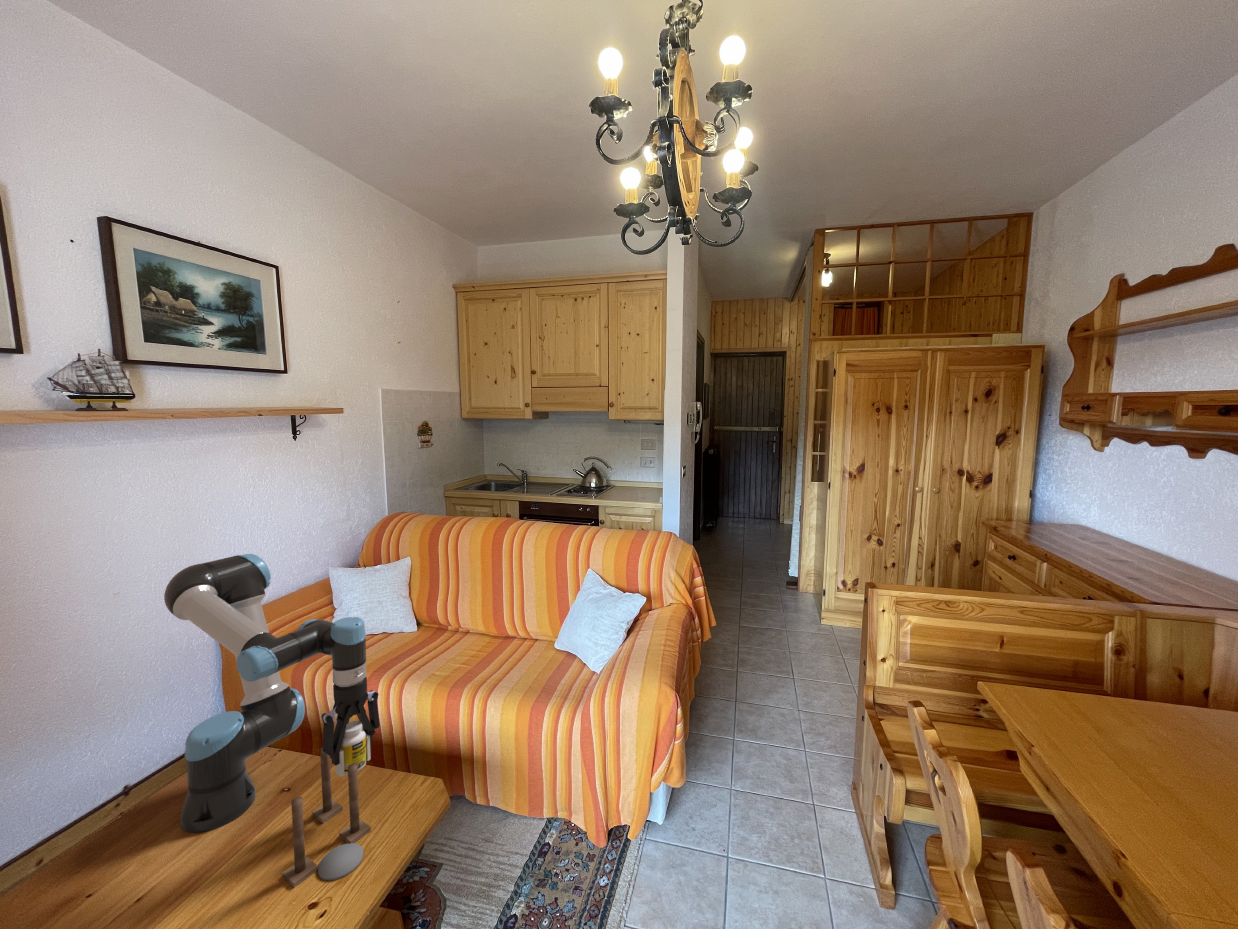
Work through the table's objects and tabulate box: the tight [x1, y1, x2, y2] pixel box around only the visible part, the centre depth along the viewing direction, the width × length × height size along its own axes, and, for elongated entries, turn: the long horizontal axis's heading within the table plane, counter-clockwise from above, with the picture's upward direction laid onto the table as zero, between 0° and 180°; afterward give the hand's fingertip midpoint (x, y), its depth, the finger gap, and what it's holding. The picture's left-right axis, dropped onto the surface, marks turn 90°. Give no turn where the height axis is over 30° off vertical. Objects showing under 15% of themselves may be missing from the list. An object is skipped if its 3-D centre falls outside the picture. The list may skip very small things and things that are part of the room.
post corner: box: [338, 763, 372, 844], centre depth 119 cm, size 5×5×18 cm
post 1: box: [282, 795, 319, 889], centre depth 108 cm, size 5×5×18 cm
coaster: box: [317, 842, 364, 881], centre depth 111 cm, size 9×9×1 cm
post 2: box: [311, 746, 344, 824], centre depth 125 cm, size 5×5×18 cm
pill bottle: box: [341, 720, 367, 775], centre depth 124 cm, size 6×6×11 cm
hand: (353, 766), depth 125 cm, fingers closed on pill bottle, 6 cm apart
